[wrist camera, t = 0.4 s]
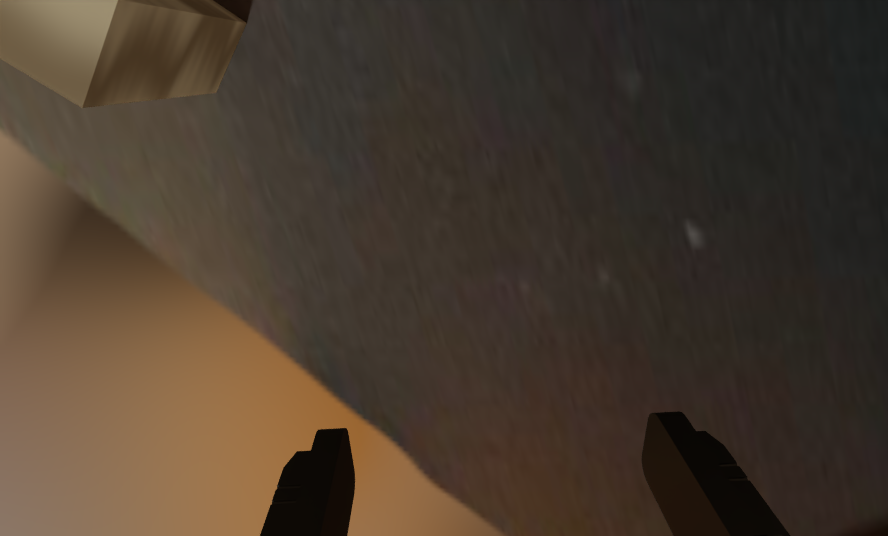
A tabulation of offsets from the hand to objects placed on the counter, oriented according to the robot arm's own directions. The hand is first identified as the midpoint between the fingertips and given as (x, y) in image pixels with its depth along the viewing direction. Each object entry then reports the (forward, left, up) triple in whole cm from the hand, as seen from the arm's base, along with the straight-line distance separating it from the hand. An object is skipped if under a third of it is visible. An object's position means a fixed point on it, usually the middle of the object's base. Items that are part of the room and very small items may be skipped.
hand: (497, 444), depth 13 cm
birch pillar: (0, -20, -20) cm, 28 cm away
